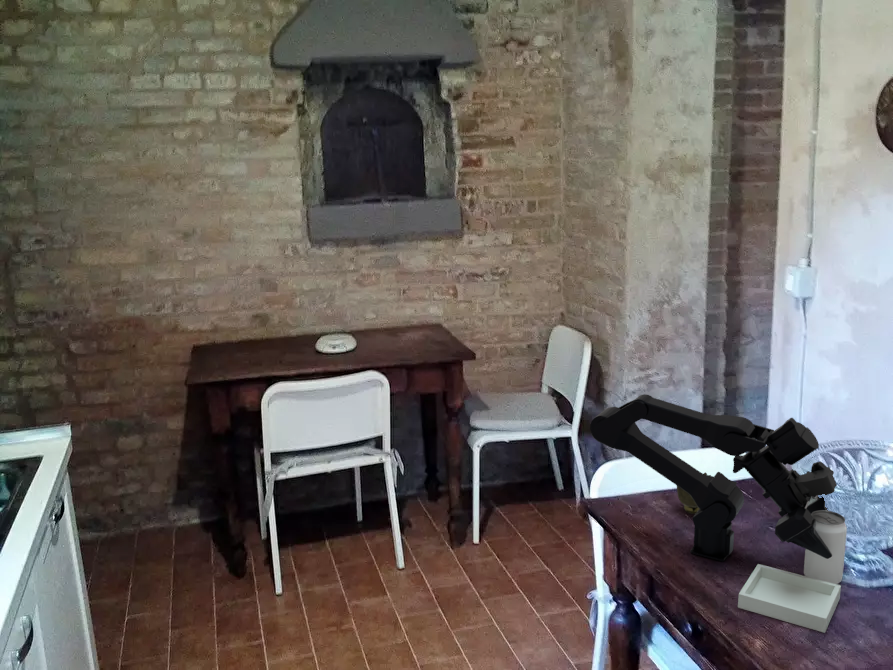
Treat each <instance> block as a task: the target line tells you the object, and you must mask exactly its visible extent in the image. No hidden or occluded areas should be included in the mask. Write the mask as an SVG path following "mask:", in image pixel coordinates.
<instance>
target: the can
mask: <svg viewBox="0 0 893 670" xmlns="http://www.w3.org/2000/svg"><path fill="white" fill-rule="evenodd" d="M811 515H812V517H813V520H814V519H816V527H815V529H816V531H817V533H818V534H819V536H820V537H821V539H822V540H823V542H824V543H825V545H826V546H827V547H828V549H829V551H830V552H831V554H832V557H830V558H829V559H826V558H824V557H822V556H820V555H818V554H816V553H814V552H812V551H810V550H807V549H805V548H804V549H805V551H804V562H803V564H804V565H803V574H804V575H803V576H807V577H810V578H814V579H818V580H822V581H826V582H830V583H833V584H837V585H839V584H840V583H841V582H842V581H843V574H844V567H845V556H846V555H845V554H846V544H847V533H848V532H847V531H848V529H847V528H848V527H847V525H846V522H845V521H846V518H845V517H844V516H843V515H842V514H840V513H838V512H835V511H832V510H828V511H826V510H818V511H814V512H812V513H811Z"/></svg>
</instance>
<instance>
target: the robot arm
mask: <svg viewBox="0 0 893 670" xmlns="http://www.w3.org/2000/svg"><path fill="white" fill-rule="evenodd" d="M641 420H646V421H648V422H652V423H655V424H657V425H658V424H659V425H661V426H664V427H667V428H670V429H673V430H677V431H680V432H683V433H686V434H689V435H692V436H695V437H698V438H699V439H702V440H704V441H706V442H707V443H708V444H709V445H710V446H711V447H713V448H714V449H717V450H718V451H721V452H722V453H725V454H727V455H729V456H732V457H733V456H734V457H733V458H732V459H733V460H732V461H733V469H732V473H733V474H737V473H739V472H740V471H741V470H744V469H745V471H746V472H747V473H748V474H749V475H750V476H751V477H752V479H753V480H754V481H755V482H756V484H758V486H759V487H760V488H761V489H762V490H763V492H762V496H763V497H764V499H765V500H767V499H769V498H770V499H771V500H772V502H774V504H775V505H776V506H777V507H778V509H779V510H778V512H777V513H778V514H779V516H780V518H779V519H778V521H777V523H776V525H775V527H774V534H775V536H776V537H777V538H778V539H779V540H780V542H781V543H785V542H786V543H788V544H789V543H791V544H794V545H796V546H798V547H801V548H803V549H807V550H810V551H812V552H814V553H816V554H818V555H820V556H822V557H824V558H826V559H829V558H830V557H832V554H831V552H830V551H829V549H828V547H827V546H826V545H825V543H824V542H823V540H822V539H821V537H820V536H819V534H818V533H817V531H816V529H815V527H816V519H814V520H813V517H812V515H811V513H812V512H814V511H818V510H826V511H829V509H828V507H827V508H826V507H825V501H824V498H823V497H822V498H819V497H818V495H822V494H825V495H827V496H828V495H831V494H833V493H835V488H836V487H837V481H836V479H835V477H834V473H835V472H834V470H833V469H831V467H830V466H827V465H826V464H824V462H822V461H816V462H813V463H812V465H811V469H810V471H806V473H804V474H799V473H798V471H797V470H794V469H793V468H792V469H788V468H787V467H786V465H789V466H793V465H794V464H796V463H798V462H800V461H801V460H803V459H804V458H805V457H807V456H809V455H810V454H812V453H813V452H815V451H816V450H817V449H819V448H820V445H819V441H818V439H817V437H816V435H815V434H814V433H813V432H812V430H811V429H810V428H809V427H806V426H805V425H804V424H803V423H801V422H798V421H796V420H795V419H794V417H790V418H789V419H787V420H785V422H784V423H783V424H782V425H780V426H779V427H778V428H776V429H775V430H774V429H772V428H768V427H764V426H761V425H758V424H755V423H753V421H752V420H750V419H748V418H747V417H743V416H737V415H731V414H709V413H704V412H702V411H697V410H694V409H692V408H688V407H684V406H682V405H678V404H675V403H672V402H668V401H666V400H662V399H660V398H656V397H653V396H652V395H650V394H646V393H644V394H640V395H638V396H637V397H636V398H635V399H633V400H631V401H628V402H626V403H624V404H623V405H621V406H619V407H618V406H610V407H607V408H605V409H604V410H603V411H602V412H600V413H599V414H598V415H596V416H595V417H593V419H592V420H591V423H590V425H589V429H590V433H591V436H592V438H593V439H594V440H595V441H597V442H598V443H600V444H602V445H604V446H606V447H608V448H610V449H614V450H619V451H622V452H626V453H629V454H631V456H633V457H635V458H636V459H637V460H639V461H640V462H642V463H643V464H645V465H647V466H648V467H649V468H651V469H652V470H653V471H655V472H656V473H658V474H660V475H661V476H662V477H664V478H665V479H667V480H668V481H670V482H671V483H673V485H675V486H676V487H677V486H678V487H680V488H681V489H683V490H684V491H686V492H687V493H688V494H690V496H691V497H692V498H693V500H694V501H695V503H696V505H697V506H698V508H699V510H698V511H697V512H696V514H694V515H693V517H692V518H691V519H692V522H693V525H694V530H693V531H694V533H693V545H692V546H693V547H691V549H690V551H689V552H690V554H692V555H696V556H699V557H700V556H701V557H704V558H706V559H707V558H708V559H711V560H715V561H718V562H724V561H725V560H726V559H727V558H728V557H729V556H730V555H731V554H732V552H733V551H734V540H735V531H734V530H732V527H733V525H732V524H733V521H734V520H735V519H736V517H737V516H738V514H739V512H740V510H741V509H742V508H743V505H744V503H745V497H744V493H743V491H742V490H741V488H739V486H738V482H737V481H733V480H731V479H729V478H728V477H727V476H725V475H724V474H723V473H721V472H720V471H717V472H716V474H714V476H712V475H711V476H708V475H709V474H707V475H705V474H703V472H701V471H699V470H698V469H696V468H695V467H693V466H692V465H690V464H689V463H687V462H686V461H685V460H683V459H682V458H680V457H678V456H677V455H676V454H674V453H673V452H671V451H669V450H668V449H667V448H665V447H664V446H662V445H661V444H659V443H657V441H655V440H654V439H652V438H650V436H648V435H646V434H644V433H643V432H642V431H641V429H640V428H639V426H638V425H637V422H638V421H641ZM827 509H828V510H827Z"/></svg>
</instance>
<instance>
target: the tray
mask: <svg viewBox="0 0 893 670" xmlns="http://www.w3.org/2000/svg"><path fill="white" fill-rule="evenodd" d="M841 589H842V585H840V584H833V583H830V582H826V581H822V580H818V579H814V578H810V577H807V576H805V575H802V574H798V573H794V572H790V571H787V570H783V569H780V568H777V567H776V568H775V567H773V566H767V565H765V564H759V563H757V565H756V567H755V568H754V570H753V571H752V572H751V574H750V576H749V577H748V579H747V580H746V582H745V584H744V585H743V586H742V588H741V589H740V591H739V593H738V597H737V599H738V600H737V602H738V603H737V608H738V609H741V610H745V611H748V612H752V613H756V614H759V615H762V616H766V617H769V618H772V619H777V620H780V621H783V622H787V623H790V624H793V625H796V626H800V627H802V628H803V627H804V628H807V629H811V630H814V631H818V632H820V633H824V634H825V633H826V631H827V630H828V626H829V624H830V622H831V620H832V617H833V616H834V613H835V610H836V608H837V606H838V603H839V601H840V599H841Z"/></svg>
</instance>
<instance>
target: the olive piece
mask: <svg viewBox="0 0 893 670" xmlns="http://www.w3.org/2000/svg"><path fill="white" fill-rule="evenodd" d="M702 473H703V472H702ZM703 474H705V475H708V476H712V475H711V474H710V475H709V474H708V473H707V472H704V473H703ZM676 490H677V491H676V492H677V493H676V494H677V497H678V499H679V502H680V503H681V504H682V505H683V509H684V511H685V512H686V513H688V514H692V515H693V514H694V515H695V514H696V512H697V511H698V510H699V508H698V506H697V505H696V503H695V501H694V500H693V498H692V497H691V496H690V494H688V493H687V492H686V491H684V490H683V489H681V488H680V487H678V486H677V485H676Z"/></svg>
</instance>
